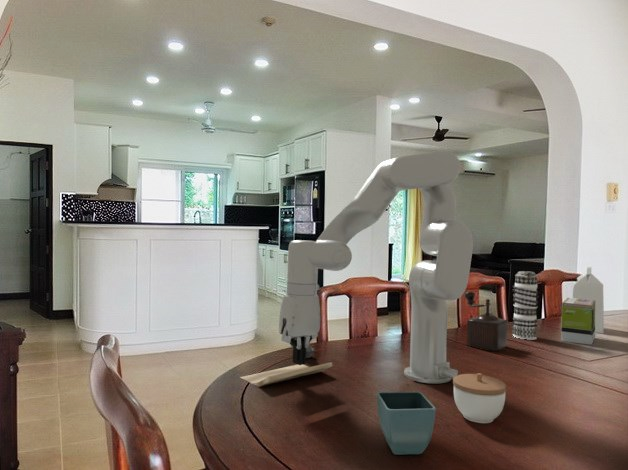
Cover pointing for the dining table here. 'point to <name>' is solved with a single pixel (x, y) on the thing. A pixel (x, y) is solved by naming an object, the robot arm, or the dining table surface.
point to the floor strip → (271, 373)
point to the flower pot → (406, 421)
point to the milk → (591, 296)
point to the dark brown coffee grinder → (485, 328)
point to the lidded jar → (479, 397)
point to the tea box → (578, 321)
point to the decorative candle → (525, 305)
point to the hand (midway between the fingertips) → (299, 363)
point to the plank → (293, 374)
